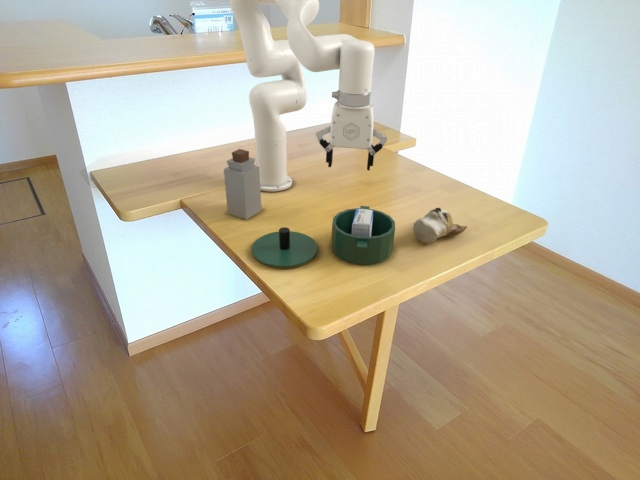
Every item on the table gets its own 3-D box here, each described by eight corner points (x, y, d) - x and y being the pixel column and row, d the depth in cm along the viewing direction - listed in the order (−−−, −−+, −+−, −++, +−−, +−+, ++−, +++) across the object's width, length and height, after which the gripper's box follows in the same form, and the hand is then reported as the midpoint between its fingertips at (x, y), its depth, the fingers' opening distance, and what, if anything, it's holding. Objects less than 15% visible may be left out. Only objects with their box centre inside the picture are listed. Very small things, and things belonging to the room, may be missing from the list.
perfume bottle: (246, 219, 133) (241, 158, 123) (227, 213, 136) (222, 153, 126) (261, 210, 137) (258, 150, 128) (243, 204, 141) (238, 145, 131)
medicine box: (368, 255, 117) (371, 224, 113) (350, 253, 118) (352, 222, 113) (371, 239, 124) (373, 209, 119) (354, 237, 124) (356, 207, 120)
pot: (327, 269, 113) (328, 241, 109) (335, 226, 130) (336, 201, 126) (392, 274, 111) (396, 246, 107) (391, 230, 129) (394, 205, 125)
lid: (244, 267, 113) (243, 244, 110) (260, 232, 127) (258, 212, 123) (313, 272, 111) (313, 250, 108) (320, 237, 125) (321, 216, 122)
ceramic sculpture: (405, 207, 121) (440, 193, 130) (400, 236, 125) (434, 222, 134) (439, 223, 114) (474, 208, 124) (433, 254, 119) (466, 237, 128)
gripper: (315, 100, 108) (313, 170, 117) (391, 105, 107) (383, 175, 116) (319, 91, 115) (316, 158, 124) (391, 96, 113) (383, 163, 122)
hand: (349, 166), depth 120 cm, fingers open, 9 cm apart
